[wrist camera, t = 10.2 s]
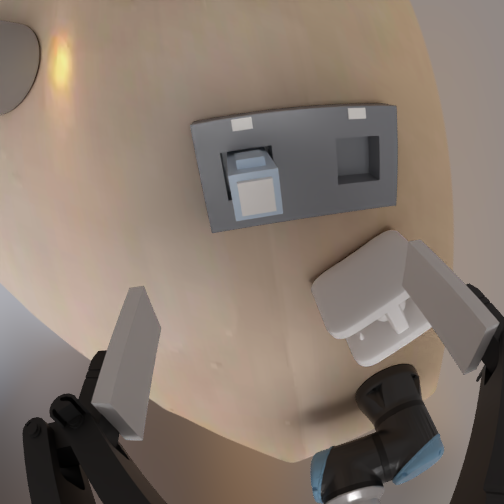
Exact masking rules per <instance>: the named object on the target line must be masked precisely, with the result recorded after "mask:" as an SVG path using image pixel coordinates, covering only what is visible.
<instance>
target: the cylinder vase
mask: <svg viewBox="0 0 504 504" xmlns="http://www.w3.org/2000/svg"><path fill="white" fill-rule="evenodd" d="M38 64H39V44H38V41H37V38H36V36H35V34H34V32H33V31H32V30H31V29H30V28H29V27H27V26H26V25H23V24H19V23H13V22H7V21H1V20H0V115H3V114H5V113H8V112H9V111H11V110H13V109H14V108H15V107H16V106H17V105H18V104H19V103H20V102H21V101H22V100H23V99H24V98H25V96H26V95H27V93H28V92H29V90H30V88H31V86H32V84H33V82H34V79H35V76H36V73H37V69H38Z"/></svg>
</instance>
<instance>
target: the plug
mask: <svg viewBox="0 0 504 504" xmlns="http://www.w3.org/2000/svg"><path fill="white" fill-rule="evenodd" d="M227 168H228V179H229V185H230V190H231V196H232V202H233V207H234V213H235V218H236V221H242V220H248V219H254V218H260V217H266V216H272V215H278V214H283V207H282V198H281V189H280V180H279V172H278V167H277V166H276V164H275V163H274V161H273V160H272V159H271V157H270V156H269V154H268V153H267V151H266V150H265V148H264V147H256V148H249V149H242V150H236V151H230V152H227Z"/></svg>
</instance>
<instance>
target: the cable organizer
mask: <svg viewBox="0 0 504 504" xmlns="http://www.w3.org/2000/svg"><path fill="white" fill-rule="evenodd" d="M407 248H408V241H407V240H406V239H405V238H404V237H403V236H402V235H401V234H400V233H399V232H398V231H396V230H388V231H385V232H383V233H381V234H380V235H378V236H376V237H374V238H373V239H372V240H370V241H369V242H368V243H366V244H365V245H363V246H362V247H361V248H360V249H358V250H357V251H355V252H354V253H352V254H351V255H349V256H348V257H346V258H345V259H344V260H342V261H341V262H339V263H337V264H336V265H334V266H333V267H331V268H330V269H328V270H327V271H325V272H324V273H323V274H321V275H320V276H319V277H318V278H317V279H316V280H315V281H314V282H313V284H312V287H311V291H312V293H313V296H314V298H315V301H316V303H317V306H318V308H319V311H320V314H321V316H322V319H323V321H324V324H325V326H326V329H327V331H328V332H329V333H330V334H331V335H332V336H333V337H334V338H337V339H344V338H346V341H347V343H348V345H349V348H350V350H351V353H352V355H353V357H354V359H355V360H356V361H357V363H358V364H359V365H361V366H364V367H368V366H372V365H375V364H377V363H378V362H380V361H382V360H383V359H385V358H386V357H388V356H390V355H391V354H393V353H394V352H396V351H397V350H399V349H401V348H402V347H404V346H405V345H407V344H408V343H410V342H411V341H413V340H414V339H416V338H417V337H418V336H420V335H421V334H423V333H424V332H426V331H427V330H428V329H430V328H431V327H432V326H431V325H430V323H429V322H428V321H427V319H426V318H425V316H424V315H423V314H422V312H421V311H420V309H419V308H418V307H417V305H416V304H415V303H414V301H413V300H412V298H411V297H410V296H409V294H408V293H407V292H406V290H405V289H404V288H403V286H402V282H403V276H404V270H405V263H406V256H407Z"/></svg>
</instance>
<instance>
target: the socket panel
mask: <svg viewBox="0 0 504 504" xmlns="http://www.w3.org/2000/svg"><path fill="white" fill-rule="evenodd" d="M190 128H191V133H192V138H193V143H194V149H195V154H196V159H197V164H198V169H199V174H200V179H201V184H202V188H203V193H204V198H205V203H206V207H207V212H208V217H209V221H210V226H211V231H212V233H216V232H222V231H228V230H234V229H240V228H246V227H252V226H258V225H264V224H271V223H277V222H283V221H290V220H296V219H303V218H309V217H316V216H323V215H330V214H336V213H343V212H350V211H357V210H365V209H372V208H379V207H387V206H394V205H396V197H397V166H398V139H397V109H396V106H395V105H389V104H383V103H360V104H332V105H315V106H302V107H291V108H281V109H272V110H264V111H256V112H249V113H242V114H235V115H229V116H223V117H217V118H211V119H206V120H201V121H196V122H193V123H192V124H191V125H190ZM256 147H264V148H265V150H266V151H267V153H268V154H269V156H270V157H271V159H272V160H273V161H274V163H275V164H276V166H277V167H278V172H279V180H280V189H281V198H282V207H283V214H278V215H272V216H266V217H260V218H254V219H248V220H242V221H236V218H235V213H234V207H233V202H232V196H231V190H230V185H229V179H228V168H227V152H230V151H236V150H242V149H249V148H256Z"/></svg>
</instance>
